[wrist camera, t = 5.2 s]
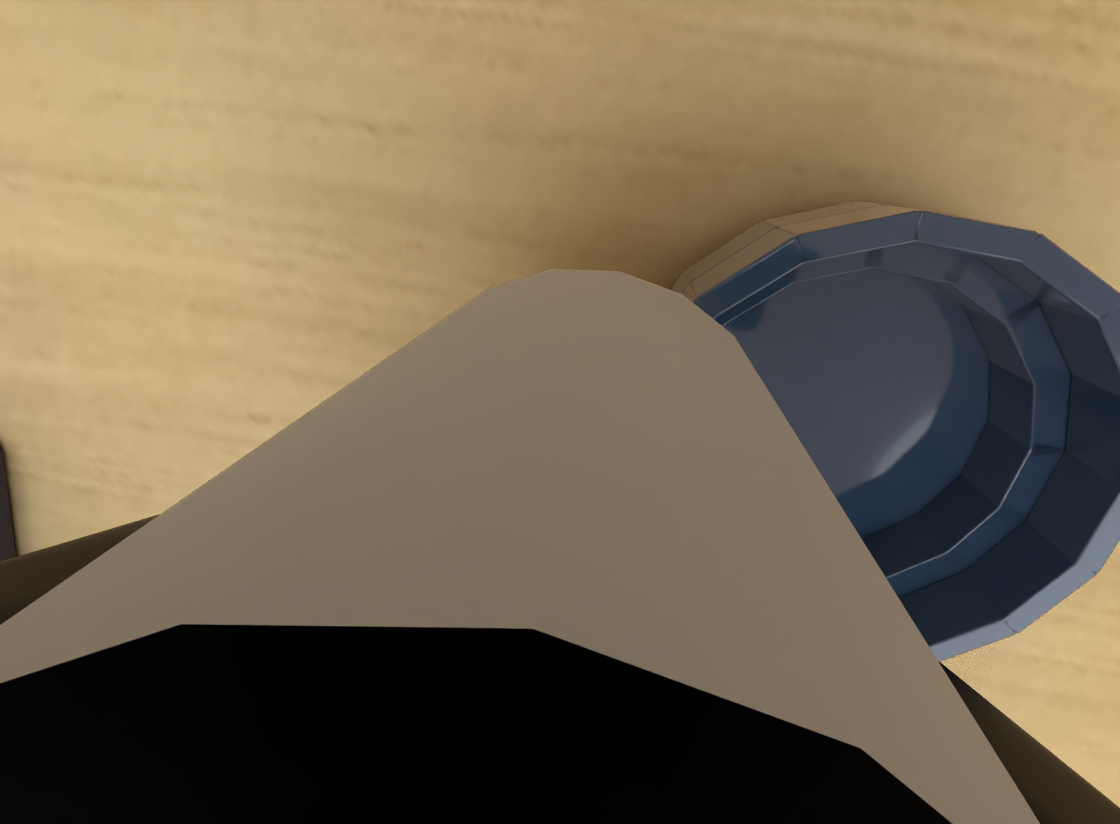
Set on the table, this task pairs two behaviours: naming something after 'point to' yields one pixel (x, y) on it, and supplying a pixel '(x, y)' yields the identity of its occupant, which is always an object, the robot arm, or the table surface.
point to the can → (501, 608)
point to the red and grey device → (5, 518)
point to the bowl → (939, 399)
